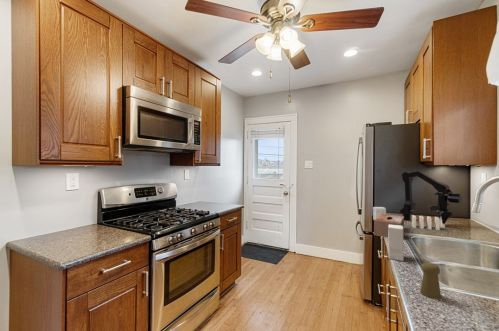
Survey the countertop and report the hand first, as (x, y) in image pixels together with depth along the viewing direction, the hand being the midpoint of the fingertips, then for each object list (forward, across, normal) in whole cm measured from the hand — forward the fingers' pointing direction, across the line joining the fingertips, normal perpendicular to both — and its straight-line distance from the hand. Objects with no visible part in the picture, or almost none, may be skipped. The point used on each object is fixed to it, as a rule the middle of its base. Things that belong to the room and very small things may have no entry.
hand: (442, 222), depth 173 cm
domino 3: (+3, +10, -6) cm, 12 cm away
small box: (+4, -6, -40) cm, 41 cm away
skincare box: (+4, +77, -38) cm, 86 cm away
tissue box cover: (+4, +30, -36) cm, 47 cm away
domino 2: (+3, +10, -10) cm, 14 cm away
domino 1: (+3, +10, -14) cm, 18 cm away
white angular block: (+3, +10, -19) cm, 22 cm away
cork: (+4, +111, -31) cm, 115 cm away
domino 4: (+4, 0, 0) cm, 4 cm away
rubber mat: (+4, +10, -12) cm, 16 cm away
